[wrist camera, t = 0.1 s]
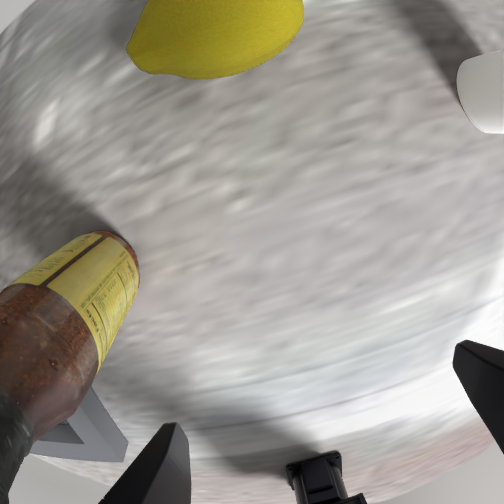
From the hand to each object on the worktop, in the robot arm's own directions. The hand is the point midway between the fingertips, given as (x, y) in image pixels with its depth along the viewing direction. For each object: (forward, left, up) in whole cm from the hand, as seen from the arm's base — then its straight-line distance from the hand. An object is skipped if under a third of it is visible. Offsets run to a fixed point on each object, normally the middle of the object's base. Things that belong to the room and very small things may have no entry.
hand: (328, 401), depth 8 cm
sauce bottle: (+2, +12, -15) cm, 19 cm away
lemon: (+16, 0, -15) cm, 22 cm away
